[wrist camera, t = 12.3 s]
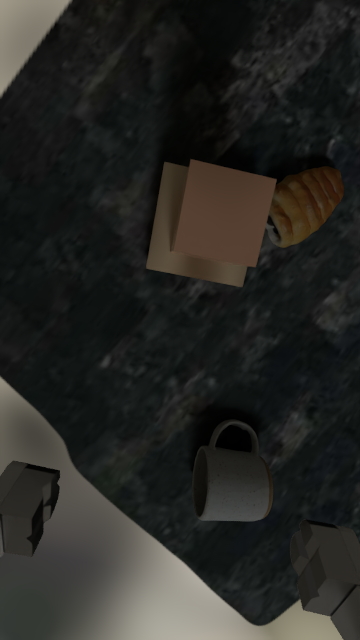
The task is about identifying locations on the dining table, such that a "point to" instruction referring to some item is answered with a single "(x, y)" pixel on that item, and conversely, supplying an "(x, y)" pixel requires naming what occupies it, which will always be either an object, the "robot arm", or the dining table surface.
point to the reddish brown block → (222, 214)
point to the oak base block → (165, 230)
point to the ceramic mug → (231, 481)
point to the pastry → (303, 204)
